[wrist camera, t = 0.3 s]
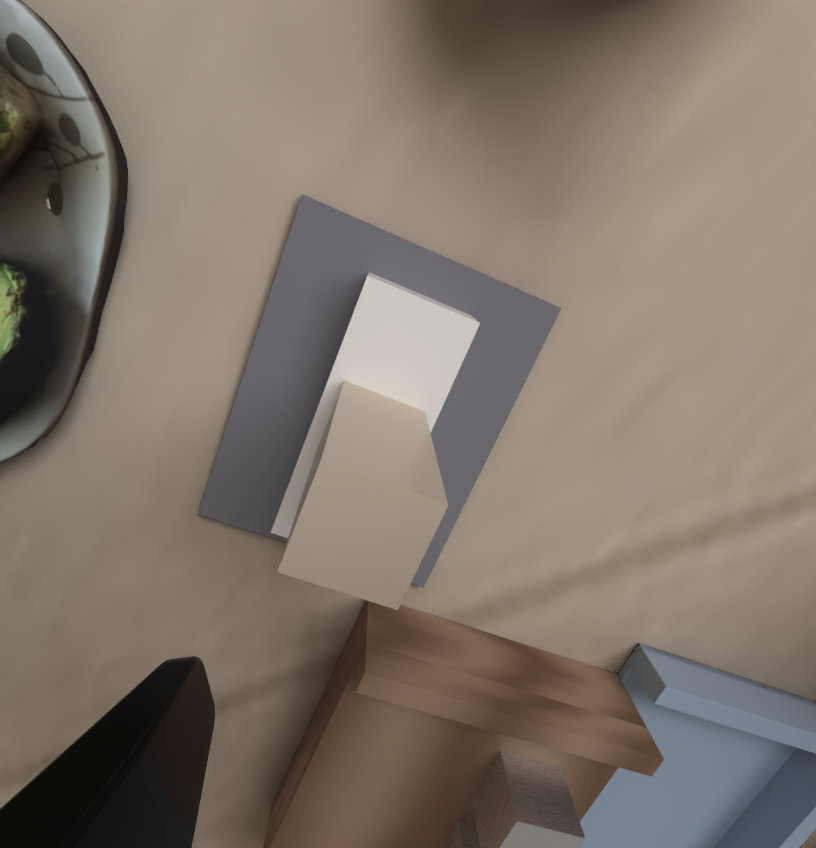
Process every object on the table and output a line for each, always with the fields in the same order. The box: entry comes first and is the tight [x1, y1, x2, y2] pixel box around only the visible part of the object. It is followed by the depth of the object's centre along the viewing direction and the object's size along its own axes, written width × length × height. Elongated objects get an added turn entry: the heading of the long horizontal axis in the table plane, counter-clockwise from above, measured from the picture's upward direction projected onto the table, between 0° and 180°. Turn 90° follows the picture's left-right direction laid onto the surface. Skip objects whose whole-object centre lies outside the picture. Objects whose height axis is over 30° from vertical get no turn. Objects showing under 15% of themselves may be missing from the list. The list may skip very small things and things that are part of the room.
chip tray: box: [579, 643, 816, 848], centre depth 27 cm, size 12×18×3 cm, turn 157°
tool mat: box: [198, 194, 561, 587], centre depth 21 cm, size 10×13×1 cm
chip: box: [472, 750, 585, 848], centre depth 22 cm, size 3×3×3 cm
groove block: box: [263, 600, 664, 848], centre depth 25 cm, size 13×14×4 cm
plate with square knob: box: [271, 272, 480, 610], centre depth 16 cm, size 4×10×9 cm, turn 157°
